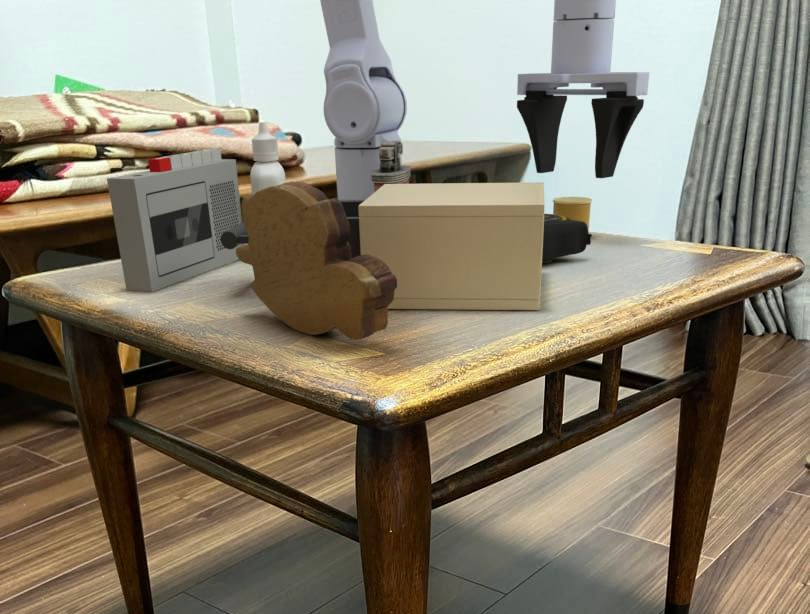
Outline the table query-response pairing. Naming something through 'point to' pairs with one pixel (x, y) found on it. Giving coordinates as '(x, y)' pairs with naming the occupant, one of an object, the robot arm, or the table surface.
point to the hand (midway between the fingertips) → (574, 174)
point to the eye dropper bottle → (265, 161)
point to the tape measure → (563, 237)
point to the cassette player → (175, 218)
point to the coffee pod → (573, 208)
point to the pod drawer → (240, 234)
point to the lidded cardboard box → (458, 243)
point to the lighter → (390, 166)
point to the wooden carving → (312, 263)
